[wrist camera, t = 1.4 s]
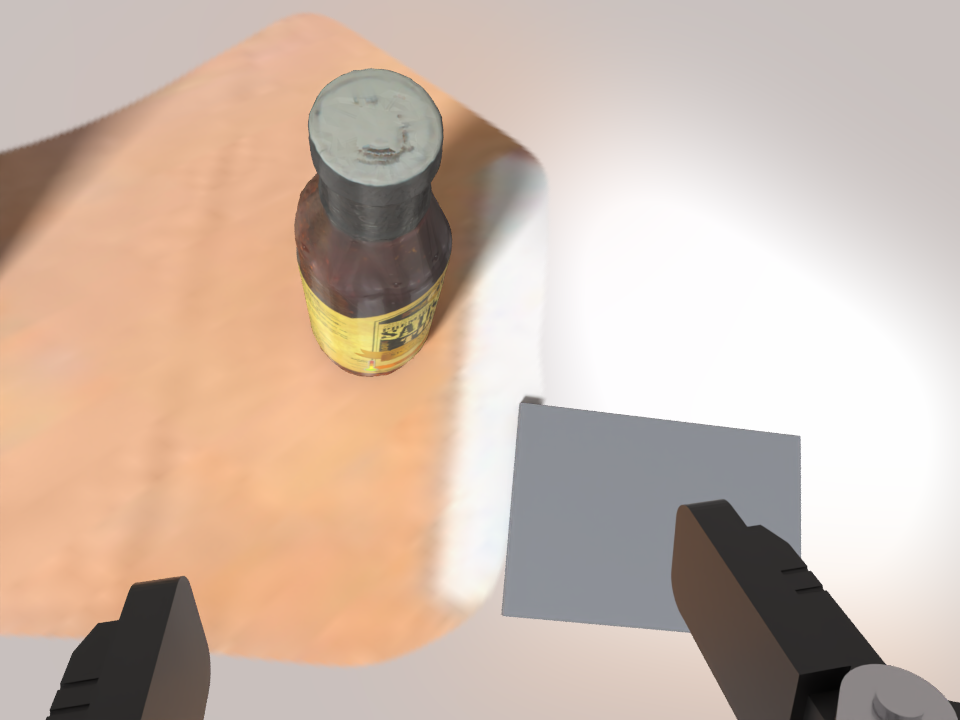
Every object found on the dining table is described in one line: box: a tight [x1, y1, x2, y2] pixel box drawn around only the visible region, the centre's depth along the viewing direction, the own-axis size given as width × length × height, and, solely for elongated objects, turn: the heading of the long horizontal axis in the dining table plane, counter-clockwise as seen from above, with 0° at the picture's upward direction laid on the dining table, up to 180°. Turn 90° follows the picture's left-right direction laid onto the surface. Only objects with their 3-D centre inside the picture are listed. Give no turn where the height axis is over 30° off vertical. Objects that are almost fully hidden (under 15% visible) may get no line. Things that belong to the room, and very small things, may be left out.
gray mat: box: [502, 403, 801, 633], centre depth 41 cm, size 16×11×1 cm
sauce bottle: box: [294, 68, 452, 377], centre depth 32 cm, size 6×6×20 cm
